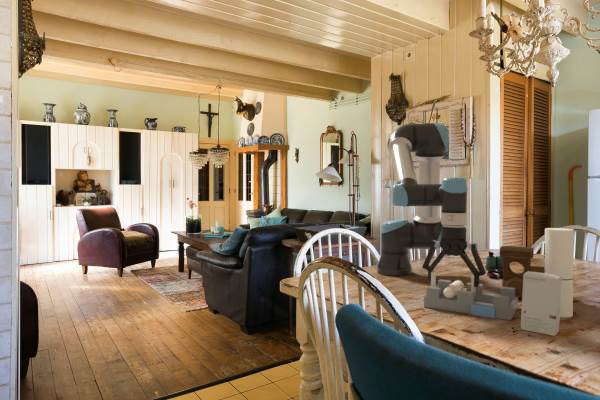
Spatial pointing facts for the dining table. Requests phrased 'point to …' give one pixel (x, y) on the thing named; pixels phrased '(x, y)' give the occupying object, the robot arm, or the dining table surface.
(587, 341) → the dining table surface
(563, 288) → the cylindrical container
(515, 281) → the wooden toy train
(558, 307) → the skincare box
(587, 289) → the dining table surface
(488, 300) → the grey notched frame
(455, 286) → the cream round-ended rod
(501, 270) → the binoculars
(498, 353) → the dining table surface
